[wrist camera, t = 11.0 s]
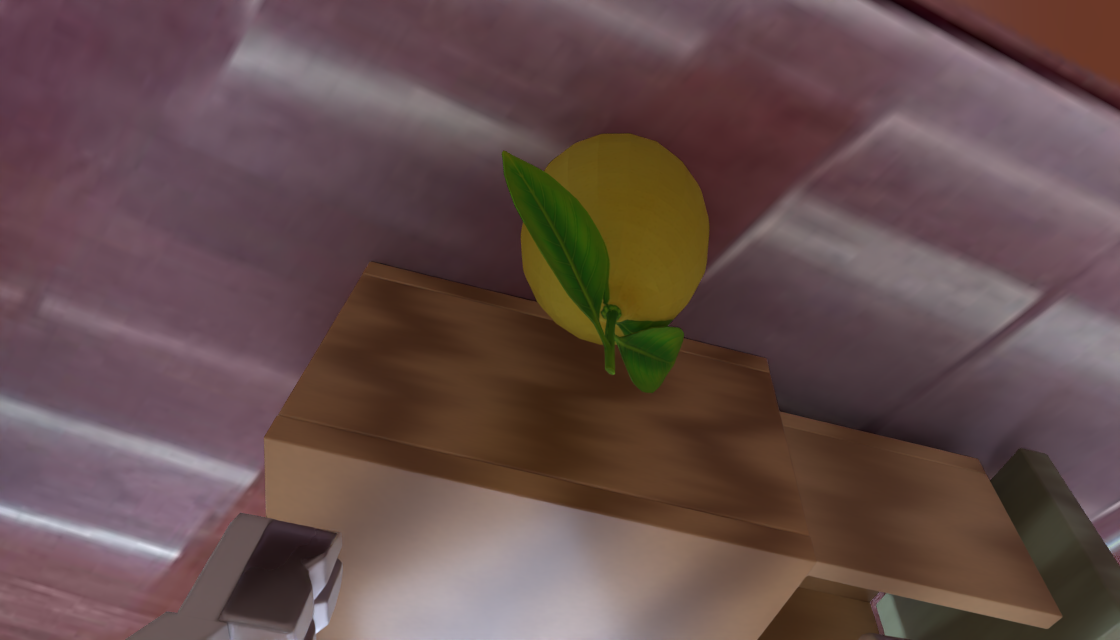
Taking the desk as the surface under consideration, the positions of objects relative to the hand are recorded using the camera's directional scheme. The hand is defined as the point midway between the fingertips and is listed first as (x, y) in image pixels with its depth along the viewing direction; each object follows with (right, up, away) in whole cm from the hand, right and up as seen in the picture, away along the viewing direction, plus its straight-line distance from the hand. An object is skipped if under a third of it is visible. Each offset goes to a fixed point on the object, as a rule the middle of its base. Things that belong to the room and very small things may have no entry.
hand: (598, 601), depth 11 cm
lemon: (+1, +9, +13) cm, 16 cm away
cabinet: (-2, 0, +20) cm, 20 cm away
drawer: (+13, -4, +20) cm, 24 cm away
